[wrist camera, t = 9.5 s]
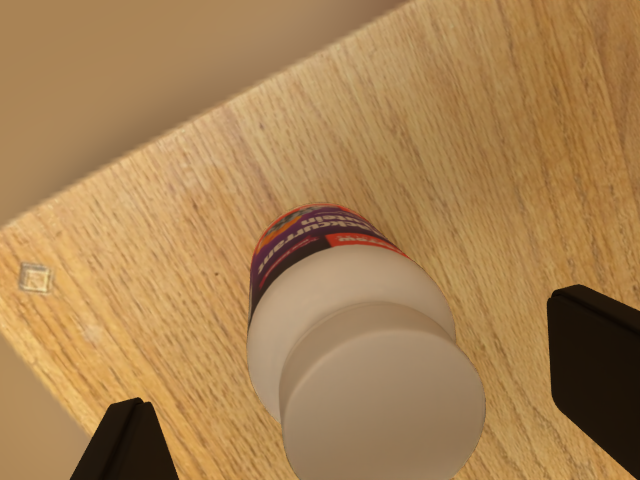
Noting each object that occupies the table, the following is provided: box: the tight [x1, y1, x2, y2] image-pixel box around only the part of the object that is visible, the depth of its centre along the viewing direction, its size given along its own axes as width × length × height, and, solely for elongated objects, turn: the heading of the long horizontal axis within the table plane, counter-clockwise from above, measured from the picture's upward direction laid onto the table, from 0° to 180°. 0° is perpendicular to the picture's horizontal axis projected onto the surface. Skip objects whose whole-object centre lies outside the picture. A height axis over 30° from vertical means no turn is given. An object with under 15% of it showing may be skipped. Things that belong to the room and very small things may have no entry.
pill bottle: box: [247, 202, 486, 480], centre depth 13 cm, size 5×5×10 cm
